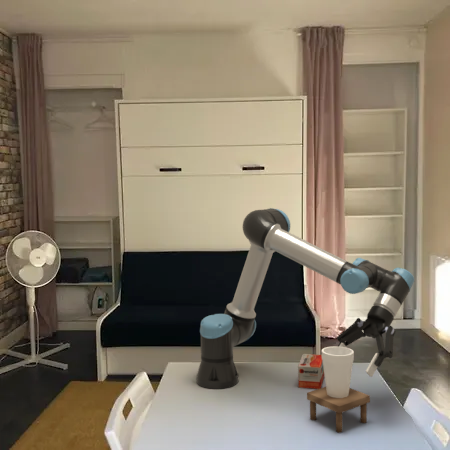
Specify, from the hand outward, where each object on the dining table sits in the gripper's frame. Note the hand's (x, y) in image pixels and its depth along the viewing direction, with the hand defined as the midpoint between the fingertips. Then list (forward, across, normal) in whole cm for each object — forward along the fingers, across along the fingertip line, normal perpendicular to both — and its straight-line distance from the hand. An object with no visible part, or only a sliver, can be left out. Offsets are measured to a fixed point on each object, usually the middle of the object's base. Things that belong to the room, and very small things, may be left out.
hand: (350, 368), depth 163 cm
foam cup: (+9, +1, -2) cm, 9 cm away
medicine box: (+3, +29, -19) cm, 35 cm away
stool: (+14, 0, -7) cm, 16 cm away
